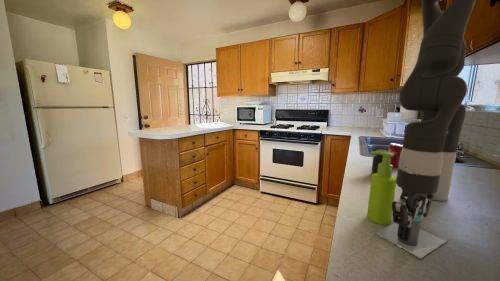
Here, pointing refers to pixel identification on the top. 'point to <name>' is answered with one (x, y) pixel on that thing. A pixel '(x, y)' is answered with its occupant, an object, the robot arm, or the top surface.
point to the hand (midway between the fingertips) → (407, 236)
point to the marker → (413, 231)
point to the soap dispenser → (382, 191)
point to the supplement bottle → (377, 161)
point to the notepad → (423, 239)
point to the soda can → (395, 154)
